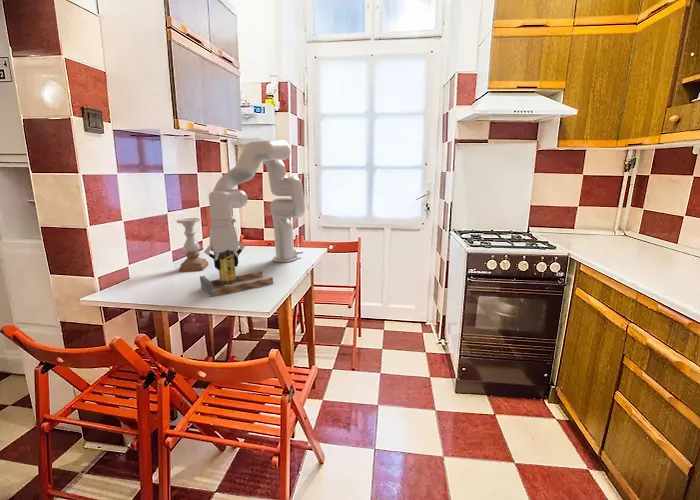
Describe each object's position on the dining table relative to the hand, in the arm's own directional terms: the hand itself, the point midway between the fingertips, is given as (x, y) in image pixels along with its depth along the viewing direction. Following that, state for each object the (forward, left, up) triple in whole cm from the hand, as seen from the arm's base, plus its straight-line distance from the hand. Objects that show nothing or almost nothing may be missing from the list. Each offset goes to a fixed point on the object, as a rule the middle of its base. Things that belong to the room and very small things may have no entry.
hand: (226, 267), depth 147 cm
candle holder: (+5, -41, -9) cm, 42 cm away
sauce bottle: (0, 0, -7) cm, 7 cm away
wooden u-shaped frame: (-4, 0, -9) cm, 10 cm away
